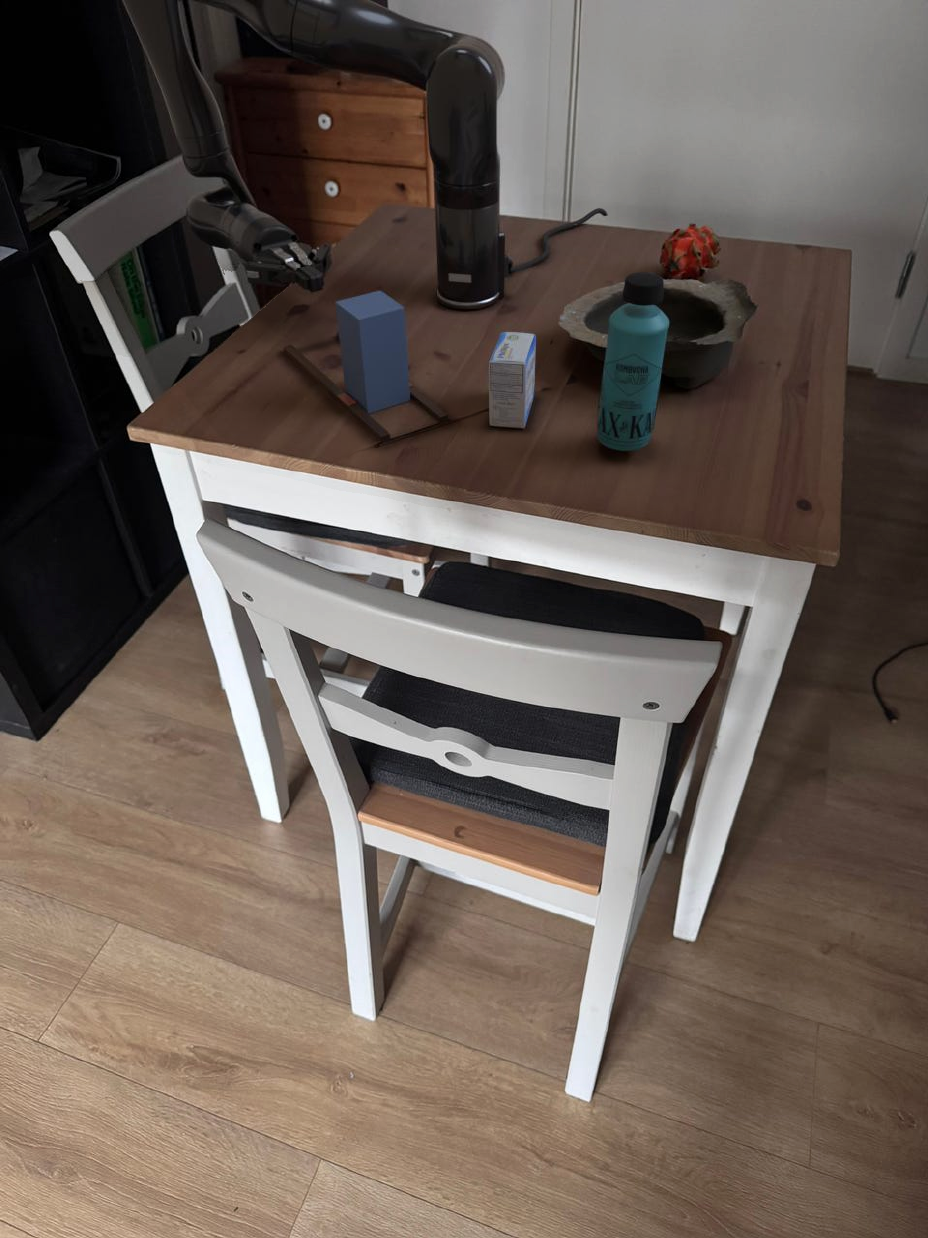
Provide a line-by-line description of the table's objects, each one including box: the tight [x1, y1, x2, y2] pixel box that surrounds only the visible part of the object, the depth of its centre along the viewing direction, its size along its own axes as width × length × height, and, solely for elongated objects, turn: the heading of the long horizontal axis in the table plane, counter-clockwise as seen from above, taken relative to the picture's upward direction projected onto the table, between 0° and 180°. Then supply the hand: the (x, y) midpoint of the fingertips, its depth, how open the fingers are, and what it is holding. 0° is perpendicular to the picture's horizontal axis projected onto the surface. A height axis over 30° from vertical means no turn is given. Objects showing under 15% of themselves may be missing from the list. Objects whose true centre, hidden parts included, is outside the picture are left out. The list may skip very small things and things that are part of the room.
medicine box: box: [488, 331, 537, 429], centre depth 107 cm, size 8×4×9 cm, turn 168°
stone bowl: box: [557, 278, 759, 390], centre depth 117 cm, size 25×25×9 cm
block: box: [334, 290, 411, 415], centre depth 108 cm, size 6×6×12 cm
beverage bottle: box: [595, 271, 669, 452], centre depth 97 cm, size 6×7×20 cm
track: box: [283, 331, 452, 448], centre depth 115 cm, size 10×28×1 cm, turn 32°
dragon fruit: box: [659, 222, 722, 281], centre depth 138 cm, size 8×8×12 cm
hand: (317, 283), depth 116 cm, fingers closed
